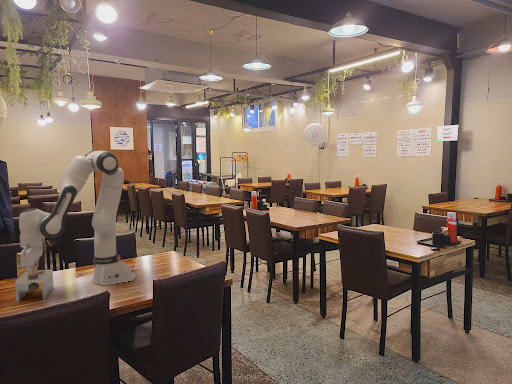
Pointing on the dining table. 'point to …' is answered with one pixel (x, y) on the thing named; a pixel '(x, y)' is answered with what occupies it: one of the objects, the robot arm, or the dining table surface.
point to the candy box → (20, 269)
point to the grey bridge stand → (24, 281)
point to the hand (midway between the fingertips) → (32, 270)
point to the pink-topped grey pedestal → (34, 274)
